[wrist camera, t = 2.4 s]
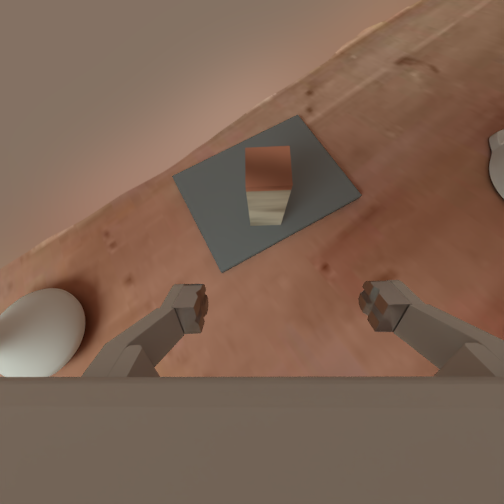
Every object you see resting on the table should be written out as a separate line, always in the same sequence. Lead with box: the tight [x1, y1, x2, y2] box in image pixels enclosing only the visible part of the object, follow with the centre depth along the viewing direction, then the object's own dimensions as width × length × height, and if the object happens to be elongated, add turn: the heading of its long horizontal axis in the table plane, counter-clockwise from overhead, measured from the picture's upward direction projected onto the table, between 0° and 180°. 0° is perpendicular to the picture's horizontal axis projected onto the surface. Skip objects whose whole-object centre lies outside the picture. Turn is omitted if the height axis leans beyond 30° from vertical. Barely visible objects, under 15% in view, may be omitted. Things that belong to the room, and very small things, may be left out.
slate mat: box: [172, 115, 361, 273], centre depth 29 cm, size 24×18×1 cm
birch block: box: [245, 146, 293, 226], centre depth 23 cm, size 4×4×10 cm
